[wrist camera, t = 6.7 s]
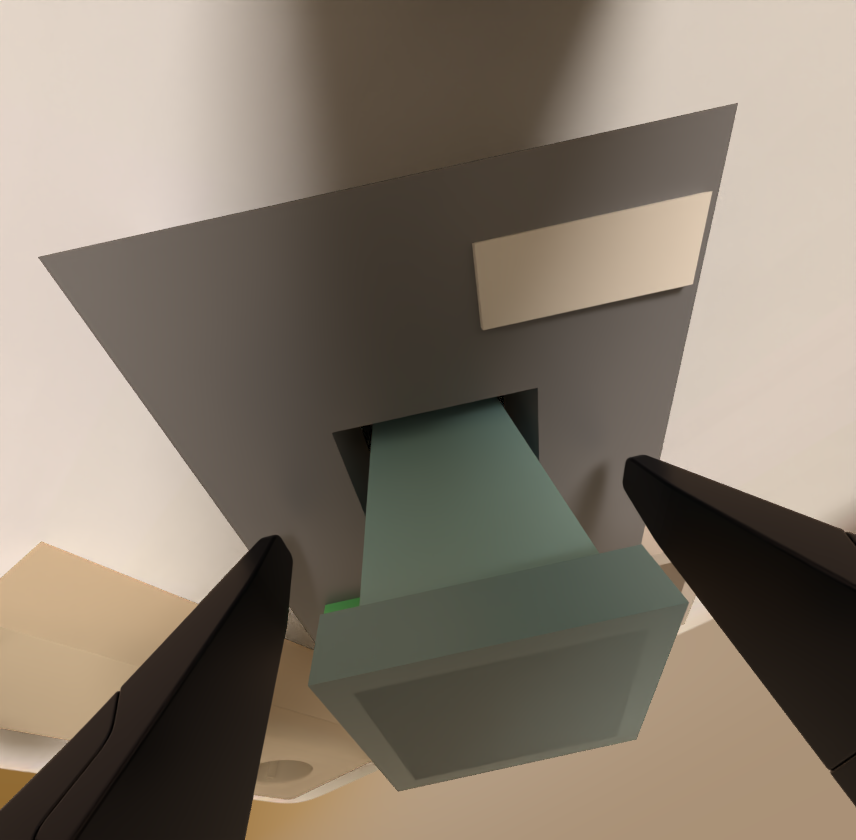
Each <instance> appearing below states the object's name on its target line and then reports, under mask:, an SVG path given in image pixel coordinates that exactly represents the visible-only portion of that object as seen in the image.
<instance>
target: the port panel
mask: <svg viewBox="0 0 856 840" xmlns="http://www.w3.org/2000/svg"><path fill="white" fill-rule="evenodd" d="M737 105H738V103H736V104H731V105H726V106H722V107H717V108H713V109H708V110H704V111H699V112H695V113H690V114H686V115H681V116H677V117H672V118H667V119H663V120H658V121H654V122H649V123H645V124H640V125H636V126H631V127H627V128H622V129H617V130H613V131H608V132H604V133H599V134H595V135H590V136H586V137H581V138H577V139H572V140H567V141H563V142H558V143H554V144H549V145H545V146H540V147H536V148H531V149H527V150H522V151H518V152H513V153H508V154H504V155H499V156H495V157H490V158H486V159H481V160H477V161H472V162H468V163H463V164H458V165H454V166H449V167H445V168H440V169H436V170H431V171H427V172H422V173H418V174H413V175H408V176H404V177H399V178H395V179H390V180H386V181H381V182H377V183H372V184H368V185H363V186H359V187H354V188H349V189H345V190H340V191H336V192H331V193H327V194H322V195H318V196H313V197H309V198H304V199H299V200H295V201H290V202H286V203H281V204H277V205H272V206H268V207H263V208H259V209H254V210H249V211H245V212H240V213H236V214H231V215H227V216H222V217H218V218H213V219H209V220H204V221H200V222H195V223H190V224H186V225H181V226H177V227H172V228H168V229H163V230H159V231H154V232H150V233H145V234H140V235H136V236H131V237H127V238H122V239H118V240H113V241H109V242H104V243H100V244H95V245H90V246H86V247H81V248H77V249H72V250H68V251H63V252H59V253H54V254H50V255H45V256H41V257H38V258H39V259H40V260H41V262H42V263H43V265H44V266H45V267H46V269H47V270H48V272H49V273H50V274H51V276H52V277H53V279H54V280H55V281H56V283H57V284H58V285H59V287H60V288H61V290H62V291H63V292H64V294H65V295H66V297H67V298H68V299H69V301H70V302H71V304H72V305H73V306H74V308H75V309H76V311H77V312H78V313H79V315H80V316H81V317H82V319H83V320H84V322H85V323H86V324H87V326H88V327H89V329H90V330H91V331H92V333H93V334H94V336H95V337H96V338H97V340H98V341H99V343H100V344H101V345H102V347H103V348H104V349H105V351H106V352H107V354H108V355H109V356H110V358H111V359H112V361H113V362H114V363H115V365H116V366H117V368H118V369H119V370H120V372H121V373H122V375H123V376H124V377H125V379H126V380H127V381H128V383H129V384H130V386H131V387H132V388H133V390H134V391H135V393H136V394H137V395H138V397H139V398H140V400H141V401H142V402H143V404H144V405H145V407H146V408H147V409H148V411H149V412H150V413H151V415H152V416H153V418H154V419H155V420H156V422H157V423H158V425H159V426H160V427H161V429H162V430H163V432H164V433H165V434H166V436H167V437H168V439H169V440H170V441H171V443H172V444H173V445H174V447H175V448H176V450H177V451H178V452H179V454H180V455H181V457H182V458H183V459H184V461H185V462H186V464H187V465H188V466H189V468H190V469H191V471H192V472H193V473H194V475H195V476H196V477H197V479H198V480H199V482H200V483H201V484H202V486H203V487H204V489H205V490H206V491H207V493H208V494H209V496H210V497H211V498H212V500H213V501H214V503H215V504H216V505H217V507H218V508H219V509H220V511H221V512H222V514H223V515H224V516H225V518H226V519H227V521H228V522H229V523H230V525H231V526H232V528H233V529H234V530H235V532H236V533H237V535H238V536H239V537H240V539H241V540H242V541H243V543H244V544H245V546H246V547H247V548H248V550H250V549H251V548H252V547H253V546H254V545H255V544H256V543H257V541H258V540H260V539H261V538H263V537H267V536H271V535H279V536H280V537H281V538H282V540H283V541H284V543H285V545H286V546H287V548H288V549H289V551H290V553H291V555H292V558H293V569H292V580H291V591H290V601H289V607H290V608H291V610H292V611H293V612H294V614H295V615H296V617H297V618H298V619H299V621H300V622H301V624H302V625H303V626H304V628H305V629H306V631H307V632H308V633H309V635H310V636H311V637H312V639H313V640H314V642H315V641H316V635H317V629H318V624H319V618H320V615H321V614H325V613H330V612H334V611H339V610H343V609H348V608H353V607H357V606H359V604H360V590H361V576H362V563H363V549H364V535H365V521H366V507H367V494H368V480H369V466H370V452H369V450H368V447H367V444H366V441H365V438H364V435H363V432H362V429H361V427H360V426H365V425H369V424H374V423H379V422H383V421H388V420H392V419H397V418H401V417H406V416H410V415H415V414H420V413H424V412H429V411H433V410H438V409H442V408H447V407H451V406H456V405H461V404H465V403H470V402H474V401H479V400H483V399H488V398H493V397H497V396H502V395H504V403H505V410H506V412H507V414H508V415H509V417H510V418H511V420H512V421H513V423H514V424H515V426H516V427H517V429H518V430H519V432H520V433H521V435H522V436H523V438H524V439H525V441H526V442H527V444H528V445H529V447H530V448H531V450H532V452H533V453H534V455H535V456H536V458H537V459H538V461H539V462H540V464H541V465H542V467H543V468H544V470H545V471H546V473H547V474H548V476H549V477H550V479H551V480H552V482H553V483H554V485H555V487H556V488H557V490H558V491H559V493H560V494H561V496H562V497H563V499H564V500H565V502H566V503H567V505H568V506H569V508H570V509H571V511H572V512H573V514H574V515H575V517H576V518H577V520H578V521H579V523H580V525H581V526H582V528H583V529H584V531H585V532H586V534H587V535H588V537H589V538H590V540H591V541H592V543H593V544H594V546H595V547H596V549H597V550H598V552H599V553H604V552H609V551H613V550H618V549H622V548H627V547H631V546H636V545H641V542H642V538H643V533H644V529H645V523H644V522H643V520H642V519H641V517H640V515H639V514H638V512H637V510H636V509H635V507H634V505H633V504H632V502H631V501H630V499H629V497H628V496H627V494H626V492H625V490H624V488H623V484H622V480H623V474H624V467H625V461H626V460H627V458H629V457H633V456H637V455H648V456H650V457H653V458H656V459H658V460H660V456H661V451H662V447H663V442H664V438H665V433H666V429H667V424H668V419H669V415H670V410H671V406H672V401H673V397H674V392H675V388H676V383H677V378H678V374H679V369H680V365H681V360H682V356H683V351H684V347H685V342H686V337H687V333H688V328H689V324H690V319H691V315H692V310H693V306H694V301H695V296H696V292H697V287H698V283H699V278H700V274H701V269H702V265H703V260H704V255H705V251H706V246H707V242H708V237H709V233H710V228H711V224H712V219H713V214H714V210H715V205H716V201H717V196H718V192H719V187H720V183H721V178H722V173H723V169H724V164H725V160H726V155H727V151H728V146H729V142H730V137H731V132H732V128H733V123H734V119H735V114H736V110H737Z"/></svg>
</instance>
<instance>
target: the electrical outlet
mask: <svg viewBox="0 0 856 840" xmlns="http://www.w3.org/2000/svg"><path fill="white" fill-rule="evenodd" d="M197 605H198V604H197V603H194V602H192V601H189V600H187V599H184V598H182V597H179V596H177V595H174V594H172V593H169V592H167V591H164V590H162V589H159V588H157V587H154V586H152V585H149V584H147V583H144V582H142V581H139V580H137V579H134V578H132V577H129V576H127V575H124V574H122V573H119V572H117V571H114V570H112V569H109V568H107V567H104V566H102V565H99V564H97V563H94V562H92V561H89V560H87V559H84V558H82V557H79V556H77V555H74V554H72V553H69V552H67V551H64V550H62V549H59V548H57V547H54V546H52V545H49V544H47V543H44V542H40V543H39V544H38V545H37V546H36V547H35V548H34V549H32V550H31V551H30V552H29V553H28V554H27V555H26V556H25V557H24V558H23V559H21V560H20V561H19V562H18V563H17V564H16V565H15V566H14V567H13V568H11V569H10V570H9V571H8V572H7V573H6V574H5V575H4V576H3V577H2V578H0V728H1V729H7V730H13V731H19V732H24V733H30V734H36V735H41V736H47V737H53V738H59V739H64V740H71V739H72V738H73V737H74V736H75V735H76V734H77V733H78V732H79V730H80V729H81V728H82V727H83V726H84V725H85V724H86V723H87V722H88V721H89V720H90V719H91V718H92V717H93V716H94V715H95V714H96V713H97V712H98V711H99V710H100V709H101V707H102V706H103V705H104V704H105V703H106V702H107V701H108V700H109V699H110V698H111V697H112V696H113V695H114V694H115V693H116V692H117V691H120V688H121V686H122V685H123V684H124V683H125V682H126V681H127V680H128V679H129V678H130V677H131V676H132V675H133V673H134V672H135V671H136V670H137V669H138V668H139V667H140V666H141V665H142V664H143V663H144V662H145V661H146V660H147V659H148V658H149V656H150V655H151V654H152V653H153V652H154V651H155V650H156V649H157V648H158V647H159V646H160V645H161V644H162V643H163V642H164V641H165V639H166V638H167V637H168V636H169V635H170V634H171V633H172V632H173V631H174V630H175V629H176V628H177V627H178V626H179V625H180V623H181V622H182V621H183V620H184V619H185V618H186V617H187V616H188V615H189V614H190V613H191V612H192V611H193V610H194V609H195V608H196V606H197ZM313 652H314V650H312V649H309V648H307V647H304V646H302V645H299V644H297V643H294V642H292V641H289V640H287V639H284V644H283V649H282V654H281V659H280V664H279V669H278V674H277V679H276V684H275V689H274V695H273V700H272V705H271V710H270V715H269V720H268V725H267V730H266V735H265V740H264V745H263V750H262V755H261V760H260V765H259V770H258V775H257V781H256V786H255V791H254V795H258V796H265V797H272V798H279V799H287V800H289V799H294V798H296V797H298V796H301V795H303V794H305V793H307V792H309V791H311V790H313V789H315V788H317V787H319V786H321V785H323V784H326V783H328V782H330V781H332V780H334V779H336V778H338V777H340V776H342V775H344V774H346V773H348V772H350V771H353V770H355V769H357V768H359V767H361V766H363V765H365V764H367V763H369V762H371V761H372V760H371V759H370V758H369V757H368V756H367V755H366V753H365V752H364V751H363V750H362V749H361V748H360V746H359V745H358V744H357V743H356V742H355V741H354V739H353V738H352V737H351V736H350V735H349V734H348V732H347V731H346V730H345V729H344V728H343V727H342V725H341V724H340V723H339V722H338V721H337V719H336V718H335V717H334V716H333V715H332V714H331V712H330V711H329V710H328V709H327V708H326V707H325V705H324V704H323V703H322V702H321V701H320V700H319V698H318V697H317V696H316V695H315V694H314V693H313V691H312V690H311V689H310V688H309V687H308V681H309V676H310V670H311V664H312V658H313Z"/></svg>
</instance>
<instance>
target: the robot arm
mask: <svg viewBox="0 0 856 840" xmlns="http://www.w3.org/2000/svg"><path fill="white" fill-rule="evenodd" d="M622 484H623V488H624V490H625V492H626V494H627V496H628V497H629V499H630V501H631V502H632V504H633V505H634V507H635V509H636V510H637V512H638V514H639V515H640V517H641V519H642V520H643V522H644V523H645V525H646V527H647V528H648V530H649V532H650V533H651V535H652V536H653V538H654V540H655V541H656V543H657V544H658V546H659V547H660V548H661V550H662V551H663V552H664V554H665V555H666V556H667V558H668V559H669V560H670V562H671V563H672V564H673V566H674V567H675V568H676V570H677V571H678V572H679V574H680V575H681V576H682V578H683V579H684V580H685V581H686V583H687V584H688V585H689V587H690V588H691V589H692V591H693V592H694V593H695V595H696V596H697V597H698V599H699V600H700V601H701V603H702V604H703V605H704V607H705V608H706V609H707V611H708V612H709V613H710V614H711V616H712V617H713V618H714V620H715V621H716V622H717V624H718V625H719V626H720V628H721V629H722V630H723V632H724V633H725V634H726V636H727V637H728V638H729V639H730V641H731V642H732V643H733V645H734V646H735V647H736V649H737V650H738V651H739V653H740V654H741V655H742V657H743V658H744V659H745V661H746V662H747V663H748V664H749V666H750V667H751V669H752V670H753V671H754V673H755V674H756V675H757V676H758V678H759V679H760V680H761V682H762V683H763V684H764V686H765V687H766V688H767V690H768V691H769V692H770V694H771V695H772V696H773V698H774V699H775V700H776V702H777V703H778V704H779V706H780V707H781V708H782V710H783V711H784V712H785V713H786V715H787V716H788V717H789V719H790V720H791V721H792V723H793V724H794V725H795V727H796V728H797V729H798V731H799V732H800V733H801V735H802V736H803V737H804V739H805V740H806V741H807V743H808V744H809V745H810V746H811V748H812V749H813V750H814V752H815V753H816V754H817V756H818V757H819V758H820V760H821V761H822V762H823V764H824V765H825V766H826V768H827V769H829V770H831V771H830V773H831V775H832V776H833V777H834V779H835V780H836V781H837V783H838V784H839V785H840V787H841V788H842V789H843V791H844V792H845V793H846V794H847V796H848V797H849V798H850V800H851V801H852V802H853V804H854V805H855V806H856V534H853V533H851V532H844V530H842V529H840V528H837V527H835V526H832V525H829V524H827V523H824V522H821V521H819V520H816V519H813V518H811V517H808V516H806V515H803V514H800V513H798V512H795V511H792V510H790V509H787V508H785V507H782V506H779V505H777V504H774V503H771V502H769V501H766V500H763V499H761V498H758V497H756V496H753V495H750V494H748V493H745V492H742V491H740V490H737V489H735V488H732V487H729V486H727V485H724V484H721V483H719V482H716V481H714V480H711V479H708V478H706V477H703V476H700V475H698V474H695V473H692V472H690V471H687V470H685V469H682V468H679V467H677V466H674V465H671V464H669V463H666V462H664V461H661V460H658V459H656V458H653V457H650V456H648V455H637V456H633V457H629V458H627V460H626V461H625V467H624V474H623V480H622ZM292 569H293V558H292V555H291V553H290V551H289V549H288V548H287V546H286V545H285V543H284V541H283V540H282V538H281V537H280V536H279V535H271V536H267V537H263V538H261V539H260V540H258V541H257V543H256V544H255V545H254V546H253V547H252V548H251V549H250V550H249V551H248V552H247V553H246V554H245V555H244V556H243V557H242V559H241V560H240V561H239V562H238V563H237V564H236V565H235V566H234V567H233V568H232V569H231V570H230V571H229V572H228V573H227V574H226V576H225V577H224V578H223V579H222V580H221V581H220V582H219V583H218V584H217V585H216V586H215V587H214V588H213V589H212V590H211V592H210V593H209V594H208V595H207V596H206V597H205V598H204V599H203V600H202V601H201V602H200V603H199V604H198V605H197V606H196V608H195V609H194V610H193V611H192V612H191V613H190V614H189V615H188V616H187V617H186V618H185V619H184V620H183V621H182V622H181V623H180V625H179V626H178V627H177V628H176V629H175V630H174V631H173V632H172V633H171V634H170V635H169V636H168V637H167V638H166V639H165V641H164V642H163V643H162V644H161V645H160V646H159V647H158V648H157V649H156V650H155V651H154V652H153V653H152V654H151V655H150V656H149V658H148V659H147V660H146V661H145V662H144V663H143V664H142V665H141V666H140V667H139V668H138V669H137V670H136V671H135V672H134V673H133V675H132V676H131V677H130V678H129V679H128V680H127V681H126V682H125V683H124V684H123V685H122V686H121V688H120V691H117V692H116V693H115V694H114V695H113V696H112V697H111V698H110V699H109V700H108V701H107V702H106V703H105V704H104V705H103V706H102V707H101V709H100V710H99V711H98V712H97V713H96V714H95V715H94V716H93V717H92V718H91V719H90V720H89V721H88V722H87V723H86V724H85V725H84V726H83V727H82V728H81V729H80V730H79V732H78V733H77V734H76V735H75V736H74V737H73V738H72V739H71V740H70V741H69V742H68V743H67V744H66V745H65V746H64V747H63V748H62V749H61V750H60V751H59V752H58V753H57V754H56V755H55V756H54V757H53V758H52V759H51V760H50V761H49V762H48V763H47V764H46V765H45V766H44V767H43V768H42V769H41V770H40V771H39V772H38V773H37V774H36V775H35V776H34V777H33V778H32V779H31V780H30V781H29V782H28V783H27V784H26V785H25V786H24V787H23V788H22V789H21V790H20V791H19V792H18V793H17V794H16V795H15V796H14V797H13V798H12V799H11V800H10V801H9V802H8V803H7V804H6V805H5V806H4V807H3V808H2V809H1V810H0V840H245V836H246V831H247V825H248V820H249V815H250V811H251V806H252V801H253V796H254V791H255V786H256V781H257V775H258V770H259V765H260V760H261V755H262V750H263V745H264V740H265V735H266V730H267V725H268V720H269V715H270V710H271V705H272V700H273V695H274V689H275V684H276V679H277V674H278V669H279V664H280V659H281V654H282V649H283V644H284V639H285V634H286V628H287V621H288V612H289V601H290V591H291V580H292Z"/></svg>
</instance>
